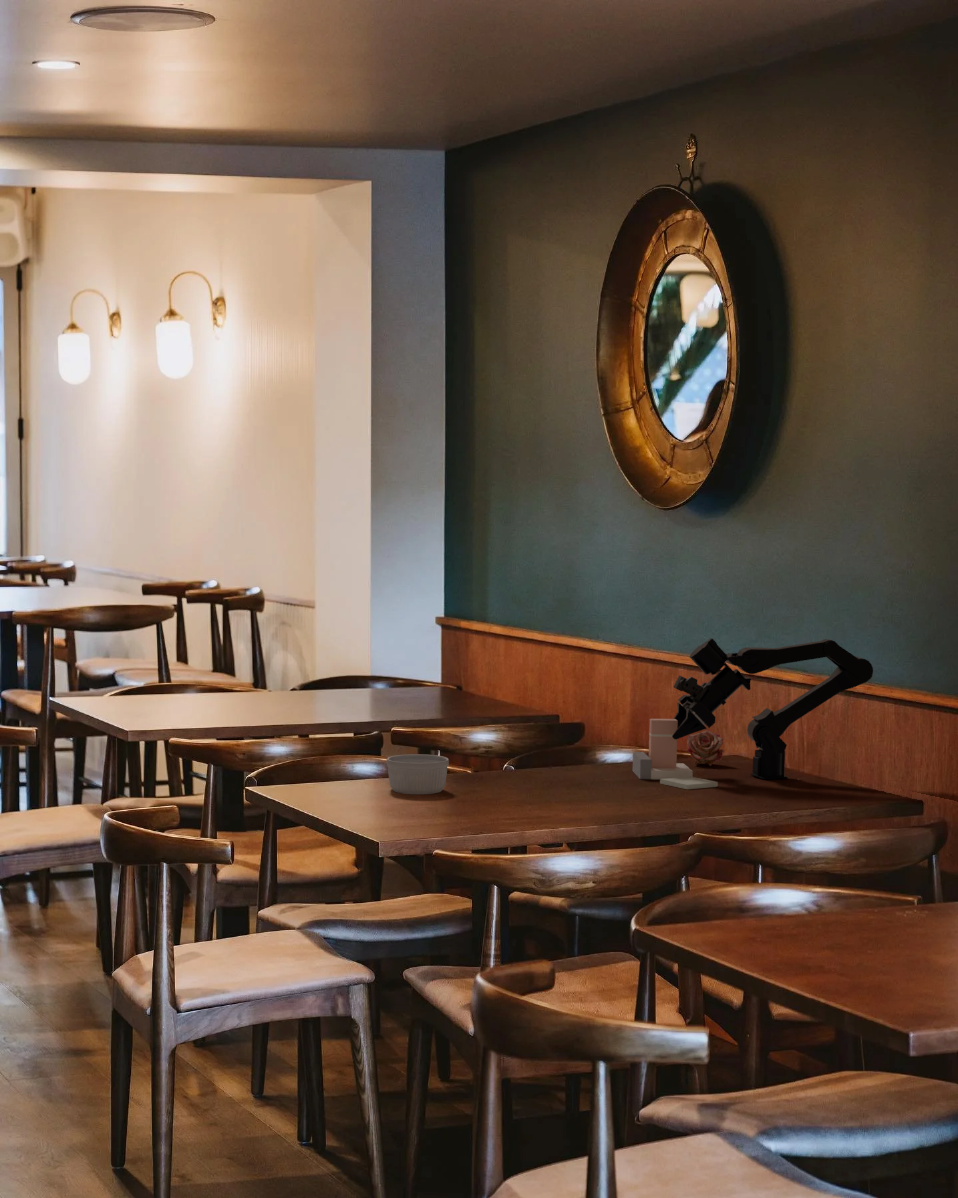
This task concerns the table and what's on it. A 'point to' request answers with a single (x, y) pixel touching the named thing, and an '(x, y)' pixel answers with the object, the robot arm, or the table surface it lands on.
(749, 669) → the robot arm
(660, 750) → the banded beige post
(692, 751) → the flower
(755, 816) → the table surface
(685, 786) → the pad
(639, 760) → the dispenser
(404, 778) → the ramekin
